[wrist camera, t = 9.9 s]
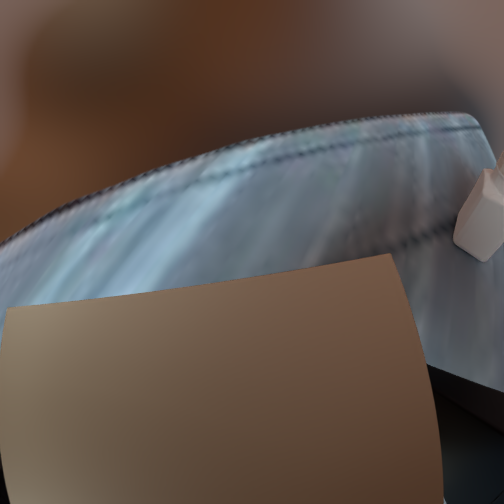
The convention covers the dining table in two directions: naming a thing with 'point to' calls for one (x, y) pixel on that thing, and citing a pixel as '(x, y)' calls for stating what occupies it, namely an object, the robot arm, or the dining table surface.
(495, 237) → the pepper shaker
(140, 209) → the dining table surface
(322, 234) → the dining table surface
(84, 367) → the birch block
